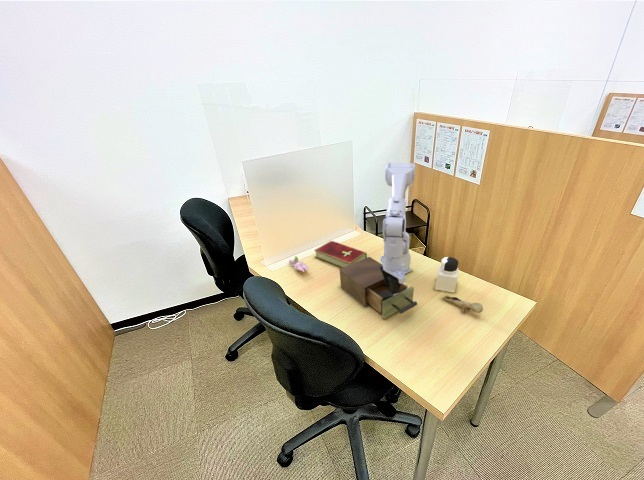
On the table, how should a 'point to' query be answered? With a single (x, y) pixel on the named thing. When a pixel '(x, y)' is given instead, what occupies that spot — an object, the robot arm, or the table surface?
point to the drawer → (390, 299)
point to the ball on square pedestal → (447, 275)
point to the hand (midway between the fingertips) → (391, 289)
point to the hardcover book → (339, 254)
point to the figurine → (465, 304)
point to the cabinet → (361, 278)
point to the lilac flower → (298, 265)
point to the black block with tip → (386, 295)
